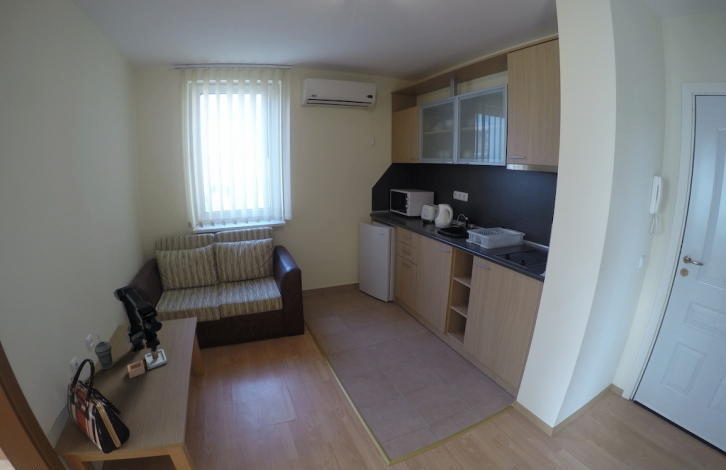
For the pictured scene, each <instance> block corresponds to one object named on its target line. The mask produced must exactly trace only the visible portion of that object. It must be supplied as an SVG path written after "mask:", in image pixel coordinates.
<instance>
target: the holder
mask: <svg viewBox="0 0 726 470" xmlns="http://www.w3.org/2000/svg"><path fill="white" fill-rule="evenodd" d="M127 372H128V377H129V379H132V378H134V377H136V376H137V377H138V376H139V375H143V374H145V373H146V369H145V365H144V362H143V359H141V360H138V361H136V362H132V363H130V364H128V365H127Z"/></svg>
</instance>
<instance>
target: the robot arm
mask: <svg viewBox="0 0 726 470" xmlns="http://www.w3.org/2000/svg"><path fill="white" fill-rule="evenodd" d="M113 296H114V297H115V298H116V300H117V301H118V302H120V303H121V305H122V309H123V312H124V315H125V318H126V321H127V324H128V326H127V329H126V333H127V334H126V337H125V340H126V342H128V343H129V344H131V351H132V352H133V353H134V352H137V351H139V350H143V349H145V348H146V349H150V348H151V349H152V351H153V352H155V351H156V348H157V349H158V346H159V345H161V341H160V338H159V337H158V332H159V331H161V329H162V328H163V323H162V322H161V321H160V320H158V319H156V317H158V316H159V315H158V311H157V309H156V308H155V306H154V305H153V304H151V303H150V302H149V301H145V300H144V299H143V298H142V297H141V296H140V295H139V294H138V292H137V291H136V290H135V288H134V286H133V285H131V286H129V285H126V286H123V287H119V288H116V289H115V290H114V291H113ZM134 307H135V308H134ZM138 320H139V321H140V323H141V324H140V323H139V321H138ZM144 341H145V342H144Z"/></svg>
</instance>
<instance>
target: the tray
mask: <svg viewBox="0 0 726 470" xmlns="http://www.w3.org/2000/svg"><path fill="white" fill-rule="evenodd" d="M157 351H158V356H159V357H158V358H157V359H152V354H151V352H149V353H146V354H144V358H145V360H146V361H145V362H146V366H147V370H152V369H154V368H155V369H156V368H157V367H159V366H163V365H166V364H168V360H167V357H166V354H165V351H164V348H160V349H157Z"/></svg>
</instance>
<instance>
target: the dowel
mask: <svg viewBox="0 0 726 470" xmlns="http://www.w3.org/2000/svg"><path fill="white" fill-rule="evenodd" d="M149 349H150V353H151V354H152V359H157V358H158V357H159V356H158V351H157V350H158V347H157V348H156V351H155V352H153V351H152V349H151V348H149Z"/></svg>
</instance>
